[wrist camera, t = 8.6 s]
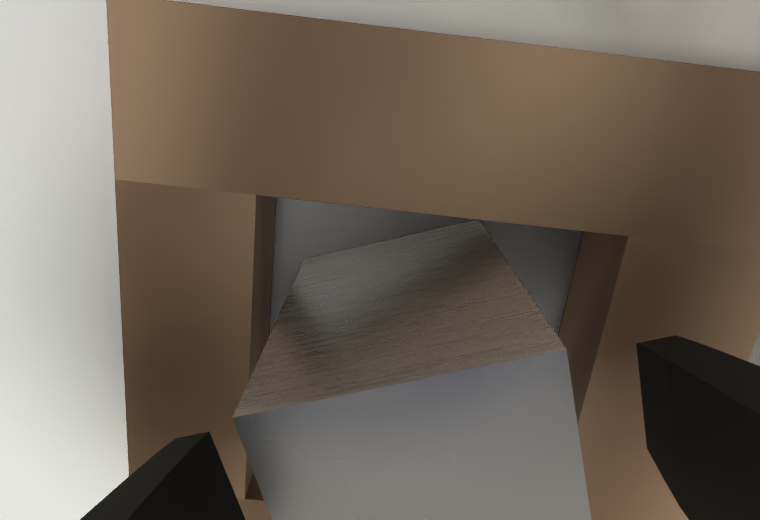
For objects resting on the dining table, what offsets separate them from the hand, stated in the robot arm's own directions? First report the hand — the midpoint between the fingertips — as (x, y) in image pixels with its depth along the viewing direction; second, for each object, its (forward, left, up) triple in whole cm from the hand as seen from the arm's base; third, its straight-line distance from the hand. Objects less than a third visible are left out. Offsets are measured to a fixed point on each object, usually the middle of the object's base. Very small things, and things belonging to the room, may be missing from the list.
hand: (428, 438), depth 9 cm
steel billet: (0, 0, -4) cm, 4 cm away
